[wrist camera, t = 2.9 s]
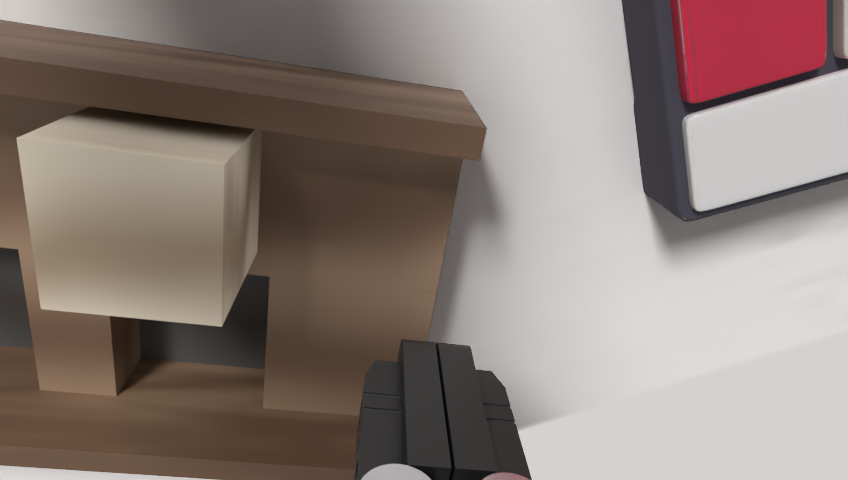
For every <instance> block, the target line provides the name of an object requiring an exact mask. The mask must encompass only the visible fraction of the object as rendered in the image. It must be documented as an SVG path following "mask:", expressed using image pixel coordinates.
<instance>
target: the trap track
mask: <svg viewBox="0 0 848 480" xmlns="http://www.w3.org/2000/svg"><path fill="white" fill-rule="evenodd" d="M89 106H92V107H99V108H106V109H113V110H120V111H128V112H135V113H142V114H149V115H156V116H163V117H171V118H178V119H185V120H192V121H199V122H207V123H214V124H221V125H228V126H235V127H243V128H250V129H257V130H262V151H261V175H260V200H259V224H258V249H257V254H256V256H255V258H254V260H253V262H252V264H251V266H250V269H249V271H248V273H247V275H246V277H245V279H244V281H243V283H242V285H241V287H240V290H239V292H238V294H237V296H236V298H235V300H234V302H233V304H232V306H231V309H230V311H229V313H228V315H227V317H226V319H225V321H224V323H223V325H222V327H219V326H209V325H199V324H189V323H178V322H168V321H158V320H147V319H137V318H127V317H117V316H106V315H96V314H86V313H75V312H65V311H55V310H45V309H41V306H40V299H39V292H38V285H37V278H36V271H35V264H34V257H33V250H32V243H31V236H30V229H29V222H28V215H27V208H26V201H25V194H24V187H23V180H22V173H21V166H20V159H19V152H18V145H17V137H20V136H22V135H24V134H27V133H29V132H31V131H34V130H36V129H38V128H41V127H43V126H45V125H48V124H50V123H52V122H55V121H57V120H59V119H62V118H64V117H66V116H68V115H71V114H73V113H75V112H78V111H80V110H82V109H85V108H87V107H89ZM486 129H487V128H486V126H485V125H484V123H483V122H482V120H481V119H480V117H479V116H478V114H477V113H476V111H475V110H474V108H473V107H472V105H471V104H470V102H469V101H468V99H467V98H466V96H465V95H464V93H463V92H462V91H459V90H452V89H446V88H439V87H433V86H426V85H420V84H413V83H407V82H400V81H394V80H387V79H381V78H374V77H368V76H361V75H355V74H348V73H342V72H335V71H329V70H322V69H316V68H309V67H303V66H296V65H290V64H283V63H277V62H270V61H264V60H257V59H251V58H244V57H238V56H231V55H225V54H218V53H212V52H205V51H199V50H192V49H186V48H179V47H173V46H166V45H160V44H153V43H147V42H140V41H134V40H127V39H121V38H114V37H108V36H101V35H95V34H88V33H82V32H75V31H69V30H62V29H56V28H49V27H43V26H36V25H30V24H23V23H17V22H10V21H4V20H0V465H5V466H20V467H36V468H51V469H66V470H81V471H97V472H112V473H127V474H143V475H158V476H173V477H188V478H204V479H219V480H353V479H354V467H355V452H356V438H357V427H358V420H359V413H360V407H361V400H362V393H363V386H364V380H365V374H366V373H367V371H368V370H369V369H370V367H371V366H372V365H373V363H374V362H375V361H376V360H383V361H392V362H397V359H398V353H399V347H400V343H401V340H402V339H407V340H416V341H426V342H427V340H428V334H429V329H430V324H431V319H432V314H433V309H434V303H435V298H436V293H437V288H438V283H439V278H440V273H441V267H442V262H443V257H444V252H445V247H446V242H447V237H448V231H449V226H450V221H451V216H452V211H453V206H454V200H455V195H456V190H457V185H458V180H459V175H460V170H461V164H462V159H463V158H465V159H472V160H480V158H481V153H482V148H483V143H484V139H485V134H486Z"/></svg>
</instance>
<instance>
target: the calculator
mask: <svg viewBox="0 0 848 480" xmlns="http://www.w3.org/2000/svg"><path fill="white" fill-rule="evenodd" d="M622 2H623V9H624V17H625V24H626V32H627V39H628V46H629V54H630V61H631V69H632V76H633V83H634V91H635V100H634V115H635V123H636V132H637V140H638V149H639V157H640V166H641V174H642V182H643V189H644V192H645V193H646V194H647V195H648V196H650V197H651V198H652V199H654V200H655V201H656V202H658V203H659V204H660V205H662V206H663V207H664V208H666V209H667V210H669V211H670V212H671V213H673V214H674V215H675V216H677V217H678V218H680V219H681V220H683V221H693V220H697V219H701V218H705V217H708V216H712V215H716V214H719V213H723V212H727V211H730V210H734V209H738V208H741V207H745V206H748V205H752V204H756V203H759V202H763V201H767V200H770V199H774V198H778V197H781V196H785V195H789V194H792V193H796V192H800V191H803V190H807V189H810V188H814V187H818V186H821V185H825V184H829V183H832V182H836V181H840V180H843V179H847V178H848V0H622Z"/></svg>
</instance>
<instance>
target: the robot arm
mask: <svg viewBox="0 0 848 480" xmlns="http://www.w3.org/2000/svg"><path fill="white" fill-rule="evenodd" d="M353 480H532V479H531V476H530V473H529V469H528V466H527V462H526V458H525V455H524V452H523V448H522V445H521V441H520V438H519V434H518V431H517V427H516V424H514V417H513V413H512V410H511V409H510V403H509V400H508V396H507V393H506V389H505V387H504V386H503V385H502V383H501V382H500V381H499V380H498V379H497V377H496V376H495V375H494V374H493V373H492V372H491V371H483V370H475V365H474V361H473V356H472V352H471V348H470V346H465V345H455V344H446V343H436V344H435V343H434V342H426V341H416V340H407V339H402V340H401V343H400V347H399V353H398V359H397V362H392V361H383V360H376V361H375V362H374V363H373V365H372V366H371V367H370V369H369V370H368V371H367V373H366V374H365V380H364V386H363V393H362V400H361V407H360V413H359V420H358V427H357V438H356V452H355V467H354V479H353Z"/></svg>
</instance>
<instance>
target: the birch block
mask: <svg viewBox="0 0 848 480" xmlns="http://www.w3.org/2000/svg"><path fill="white" fill-rule="evenodd" d="M17 145H18V152H19V159H20V166H21V173H22V180H23V187H24V194H25V201H26V208H27V215H28V222H29V229H30V236H31V243H32V250H33V257H34V264H35V271H36V278H37V285H38V292H39V299H40V306H41V309H45V310H55V311H65V312H75V313H86V314H96V315H106V316H117V317H127V318H137V319H147V320H158V321H168V322H178V323H189V324H199V325H209V326H219V327H222V325H223V323H224V321H225V319H226V317H227V315H228V313H229V311H230V309H231V306H232V304H233V302H234V300H235V298H236V296H237V294H238V292H239V290H240V287H241V285H242V283H243V281H244V279H245V277H246V275H247V273H248V271H249V269H250V266H251V264H252V262H253V260H254V258H255V256H256V254H257V249H258V224H259V200H260V175H261V151H262V130H257V129H250V128H243V127H235V126H228V125H221V124H214V123H207V122H199V121H192V120H185V119H178V118H171V117H163V116H156V115H149V114H142V113H135V112H128V111H120V110H113V109H106V108H99V107H92V106H89V107H87V108H85V109H82V110H80V111H78V112H75V113H73V114H71V115H68V116H66V117H64V118H62V119H59V120H57V121H55V122H52V123H50V124H48V125H45V126H43V127H41V128H38V129H36V130H34V131H31V132H29V133H27V134H24V135H22V136H20V137H17Z"/></svg>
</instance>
